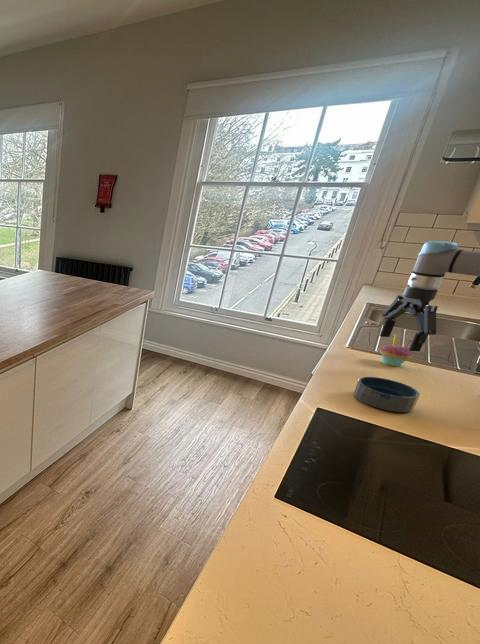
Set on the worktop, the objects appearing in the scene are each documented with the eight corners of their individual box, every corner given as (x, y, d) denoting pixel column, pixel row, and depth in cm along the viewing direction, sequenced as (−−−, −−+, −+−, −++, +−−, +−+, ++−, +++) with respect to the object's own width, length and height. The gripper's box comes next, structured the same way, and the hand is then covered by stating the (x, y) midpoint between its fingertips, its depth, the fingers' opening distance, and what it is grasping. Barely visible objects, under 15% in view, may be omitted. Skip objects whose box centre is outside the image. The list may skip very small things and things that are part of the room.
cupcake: (374, 363, 148) (386, 333, 144) (376, 357, 153) (387, 327, 149) (407, 370, 142) (420, 339, 138) (408, 363, 147) (421, 333, 143)
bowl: (425, 415, 116) (432, 399, 114) (372, 411, 118) (379, 395, 116) (389, 393, 128) (396, 378, 126) (342, 390, 130) (348, 375, 128)
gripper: (382, 278, 149) (362, 330, 157) (441, 296, 127) (414, 356, 134) (405, 278, 148) (384, 331, 156) (470, 297, 125) (441, 358, 133)
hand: (398, 343), depth 145 cm, fingers open, 13 cm apart
